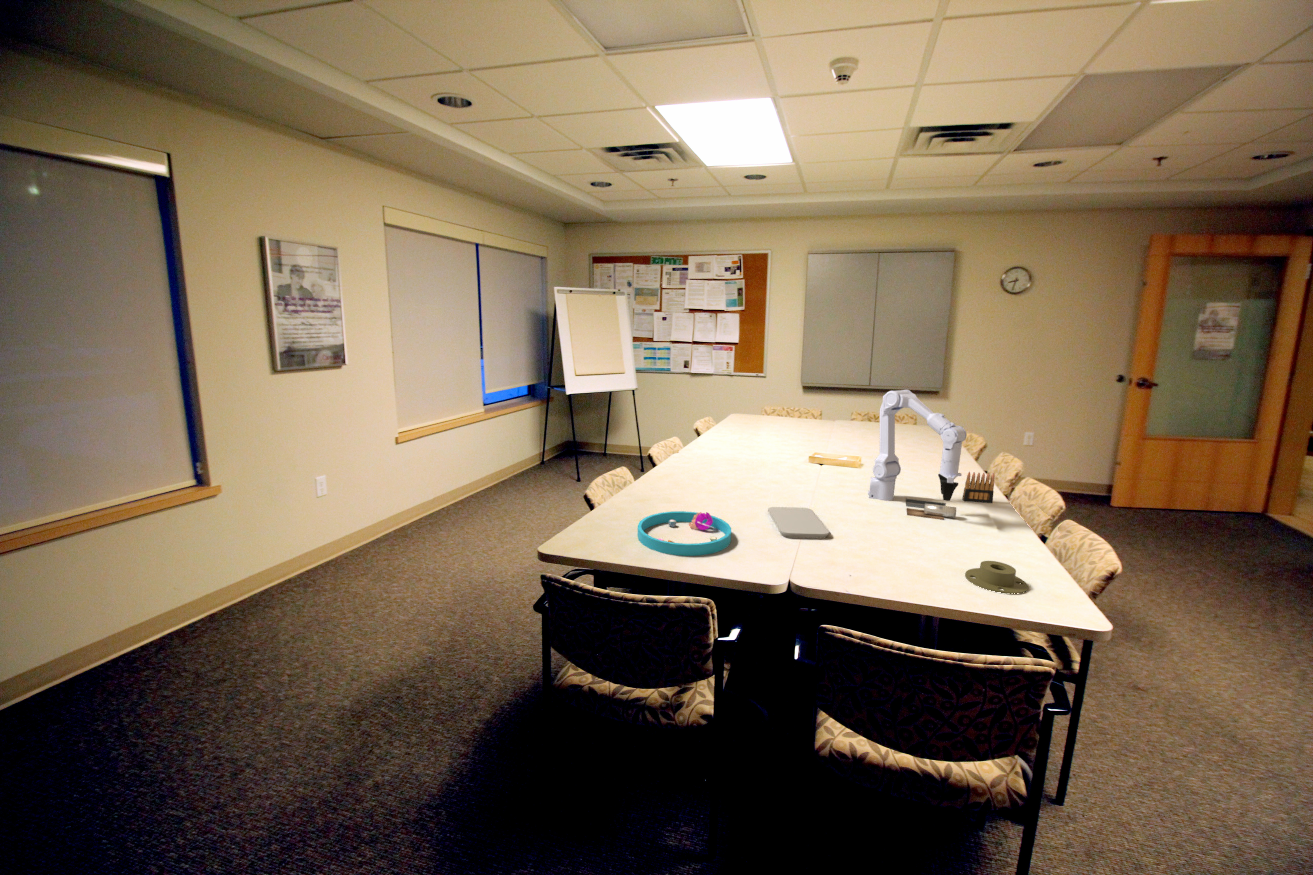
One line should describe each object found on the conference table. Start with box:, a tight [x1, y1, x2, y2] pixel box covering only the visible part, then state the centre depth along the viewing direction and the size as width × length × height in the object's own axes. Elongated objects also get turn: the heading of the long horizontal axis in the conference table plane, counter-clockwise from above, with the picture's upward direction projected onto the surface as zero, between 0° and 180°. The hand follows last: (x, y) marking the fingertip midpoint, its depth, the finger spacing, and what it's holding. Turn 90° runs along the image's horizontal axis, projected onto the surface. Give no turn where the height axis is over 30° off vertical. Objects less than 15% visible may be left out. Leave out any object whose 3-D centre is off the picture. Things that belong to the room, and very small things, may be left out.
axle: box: [923, 503, 957, 519], centre depth 207 cm, size 10×4×4 cm, turn 68°
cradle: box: [905, 497, 947, 509], centre depth 219 cm, size 14×7×2 cm, turn 69°
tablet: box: [767, 506, 830, 540], centre depth 198 cm, size 16×26×2 cm, turn 0°
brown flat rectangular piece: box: [905, 507, 945, 521], centre depth 209 cm, size 12×7×2 cm, turn 69°
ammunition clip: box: [961, 471, 995, 504], centre depth 228 cm, size 11×2×12 cm, turn 80°
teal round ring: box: [637, 510, 732, 557], centre depth 185 cm, size 30×30×6 cm
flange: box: [964, 560, 1029, 595], centre depth 158 cm, size 5×15×15 cm
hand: (945, 497), depth 205 cm, fingers open, 7 cm apart
